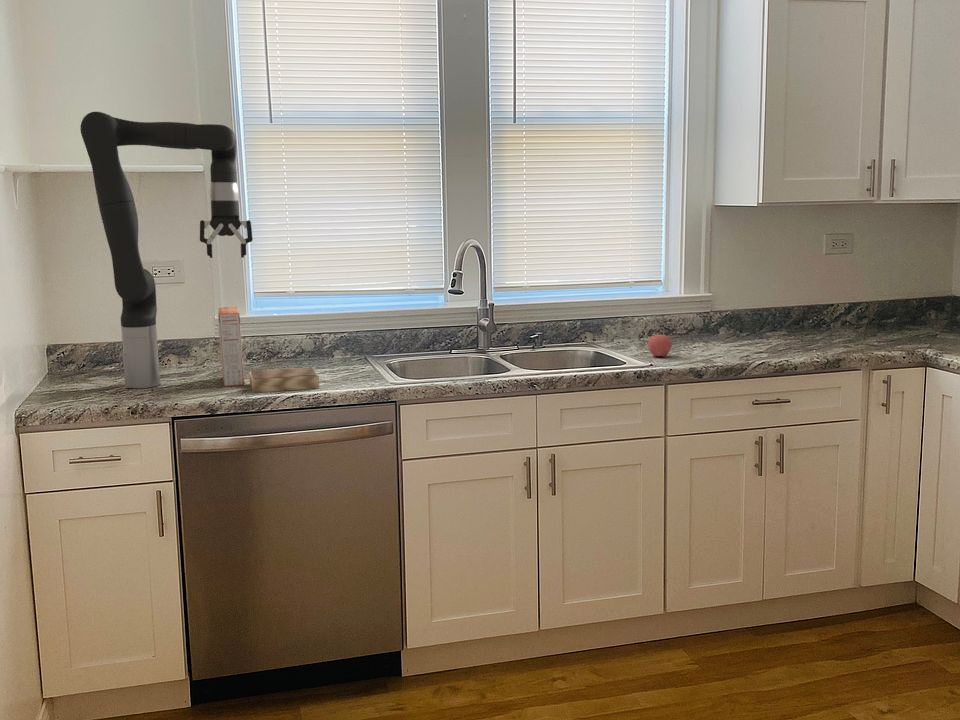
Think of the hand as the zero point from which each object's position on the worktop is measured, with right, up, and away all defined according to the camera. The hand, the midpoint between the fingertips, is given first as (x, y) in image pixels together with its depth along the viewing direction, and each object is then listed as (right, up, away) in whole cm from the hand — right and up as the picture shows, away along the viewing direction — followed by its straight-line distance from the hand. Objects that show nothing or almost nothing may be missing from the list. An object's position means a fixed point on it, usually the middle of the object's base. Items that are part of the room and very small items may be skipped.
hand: (226, 257), depth 260 cm
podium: (+16, -36, 0) cm, 40 cm away
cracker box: (0, -35, +6) cm, 36 cm away
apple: (+129, -28, +39) cm, 138 cm away
